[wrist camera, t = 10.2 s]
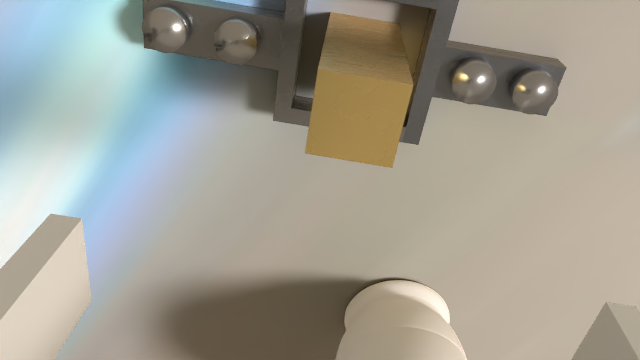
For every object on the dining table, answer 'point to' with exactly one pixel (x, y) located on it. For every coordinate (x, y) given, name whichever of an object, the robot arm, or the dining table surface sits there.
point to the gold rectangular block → (360, 92)
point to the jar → (398, 325)
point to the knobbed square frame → (285, 48)
